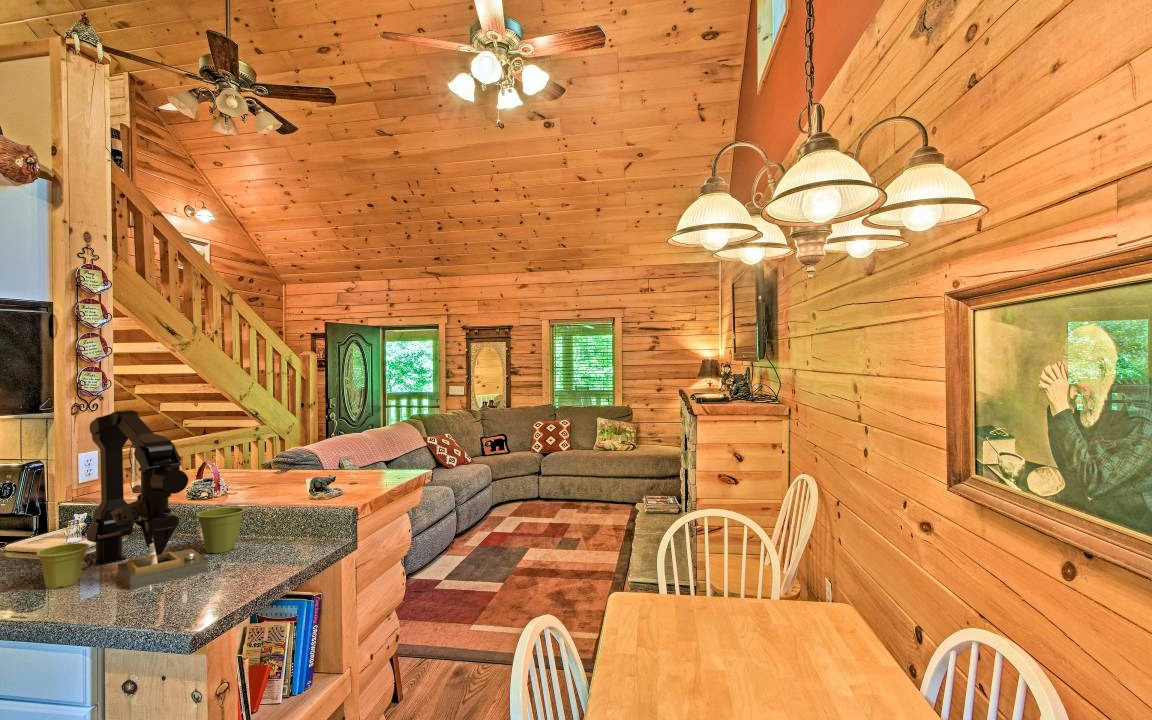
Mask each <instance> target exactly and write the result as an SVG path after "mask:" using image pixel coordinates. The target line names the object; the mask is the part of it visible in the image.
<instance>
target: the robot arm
mask: <svg viewBox="0 0 1152 720" xmlns="http://www.w3.org/2000/svg"><path fill="white" fill-rule="evenodd" d="M89 432H90V434H91V439H92V442H93V443H94V445H96V446H97V447H98V448H99V450H100V451H99V452H100V456H99V457H100V495H101V496H100V499H101V501H100V504H99V505H98V506H97V508H96V509H95V510H94V512H93V520H92V521H91V523H90V525H89V526H88V528H87V530H86V533H85V534H86V535H85V536H86V540H87V542H91V543H94V544H95V557H92V558H91V562H93V564H94V565H95V566H97V565H104V564H109V563H114V562H119V561H123V560H126V559H127V556H126V555H125V554H124V553H123V550H124V548H123V547H124V545H123V544H124V543H123V540H124V536H131V535H132V532H133V528H134V524H136V525H137V526H139V527H140V528H141V532H142V534H143V539H144V542H145V546H146V548H150V546H149V545H150V544H151V543H153V542H154V547H155V552H156V555H160V554H162V553H164V551H165V549H166V546H167V544H168V543H169V541H170V540H171V537H172V536H173V533H174V531H175V530H176V529H177V528H178V527H179V525H180V518H179V517H178V516H177V515H176V514H174V513H171V510H172V509H171V508H170V507H169V503H170V502H169V498H171V497H172V495H174V494H179V493H181V492H183V490H185V489H186V487H187V486H188V484H189V477H188V475H187V473H185V471H183V470H180V468H181V466H182V462H181V460H182V458H181V457H180V454H179V453H178V450H177V448H176V446H175V444H174V443H173V441H171V440H170V439H169V438H168V437H166V436H164V435H160V434H157V433H154V431H153V430H151V429H150V427H149V426H148V425H147V423H145V422H144V421H143V420H142V419H141V418H140V417H139V412H138V411H137V410H133V409H131V410H130V409H127V410H115V411H113V412H111V413H110V414H106V415H102V416H98V417H96V418H95V419H94V420H92V421H91V422H90V424H89ZM128 440H129V441H130V443H131V444H133V446H134V452H133V455H134V457H135V460H136V461H137V463H138V465H139V468H138V472H140V493H138V495H137V496H136V497H137V498H136V500H135V501H132V502H130V503H127V501H126V500H125V498H124V495H125V494H124V460H123V459H124V455H123V448H124V446H125V444H126V443H127V441H128ZM152 538H153V540H152Z"/></svg>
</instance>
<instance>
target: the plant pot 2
mask: <svg viewBox="0 0 1152 720" xmlns="http://www.w3.org/2000/svg"><path fill="white" fill-rule="evenodd" d="M245 510H246V508H244V507H239V506H238V507H237V506H229V507H228V506H227V507H225V506H224V507H217V508H211V509H207V510H203V511H199V512H198V513H197V514H196V516H197V517H198V520H199V523H200V525H201V532H202V538H203V542H204V549H205V552H206V553H207V554H211V553H212V554H221V553H227V552H229V551H231V550H234V549H235V548H236V545H237V541H238V534H239V529H240V525H241V520H242V518H243V517H242V516H243V513H244V512H245Z"/></svg>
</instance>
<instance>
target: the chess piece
mask: <svg viewBox="0 0 1152 720" xmlns="http://www.w3.org/2000/svg"><path fill="white" fill-rule="evenodd" d="M152 540H153V538H152ZM149 546H150V547H149V548H150V551H151V552H149V554H148V556H152V560H151V565H153V564H158V562H157V555H156V552H155V547H154V542H153V543H151V544H150V545H149Z"/></svg>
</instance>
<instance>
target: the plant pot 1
mask: <svg viewBox="0 0 1152 720" xmlns="http://www.w3.org/2000/svg"><path fill="white" fill-rule="evenodd" d="M89 546H90V545H89V544H88V543H84V542H83V543H82V542H75V543H74V542H73V543H64V544H58V545H54V546H50V547H47V548H44V549H41V550H39V551H37V552H36V556H37V557H38V559H39V562H40V563H41V569H42V570H41V571H42V575H43V582H44V587H45V588H46V589H49V590H50V589H51V590H54V589H55V590H56V589H58V588H63V587H64V588H65V587H71V586H73V585H76V584H77V583H79V582H80V580H81V579H80V578H81V574H82V573H81V572H82V567H83V562H84V559H85V558H84V557H85V554H86V553H87V549H88V548H89Z"/></svg>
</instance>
